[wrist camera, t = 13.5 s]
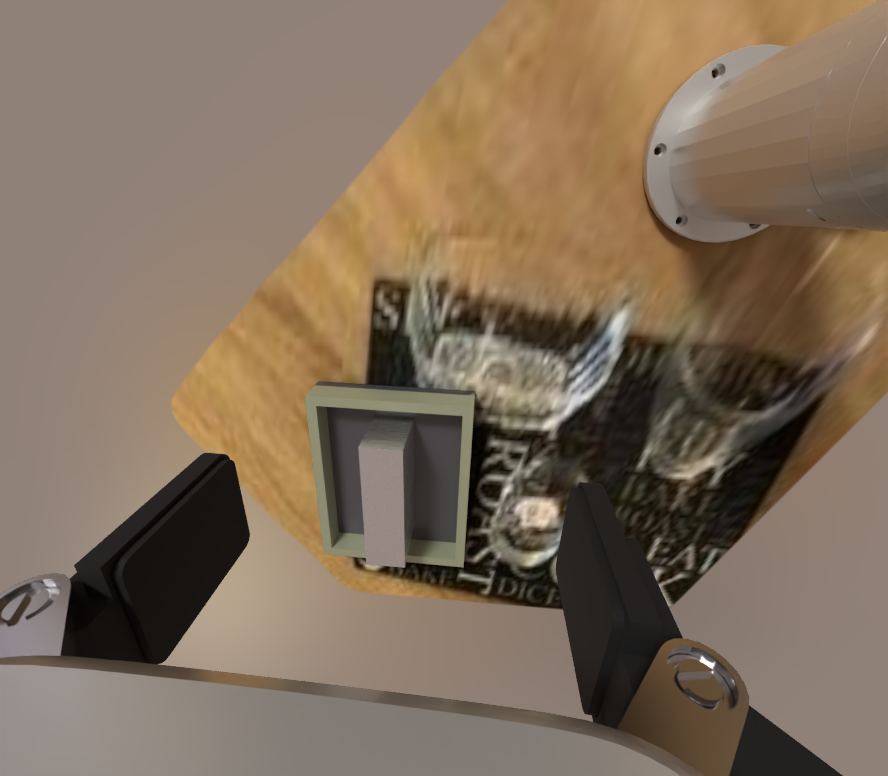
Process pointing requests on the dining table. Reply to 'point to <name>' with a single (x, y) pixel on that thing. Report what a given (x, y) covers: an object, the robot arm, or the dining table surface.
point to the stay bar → (388, 489)
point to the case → (435, 464)
